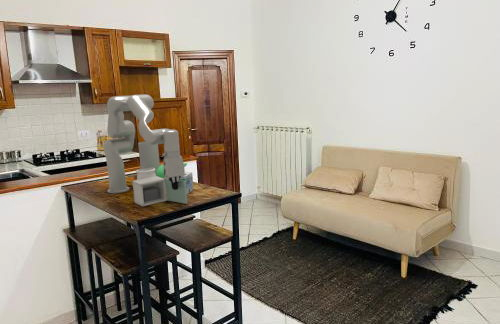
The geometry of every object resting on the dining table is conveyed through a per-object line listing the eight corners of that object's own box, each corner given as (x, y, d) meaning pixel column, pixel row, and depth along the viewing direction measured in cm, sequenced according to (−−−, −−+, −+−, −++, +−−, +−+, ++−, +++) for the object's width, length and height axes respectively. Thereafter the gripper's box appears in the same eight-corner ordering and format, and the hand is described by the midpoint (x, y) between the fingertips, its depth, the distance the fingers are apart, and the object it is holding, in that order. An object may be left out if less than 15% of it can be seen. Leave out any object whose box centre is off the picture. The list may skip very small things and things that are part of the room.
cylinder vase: (164, 177, 258) (161, 141, 254) (152, 181, 247) (149, 144, 242) (149, 176, 264) (146, 140, 259) (137, 180, 252) (134, 143, 248)
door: (186, 203, 195) (184, 181, 192) (167, 200, 203) (165, 178, 200) (188, 202, 196) (186, 180, 194) (169, 199, 204) (167, 177, 202)
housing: (134, 202, 202) (132, 180, 200) (158, 196, 211) (156, 176, 208) (142, 206, 194) (140, 183, 192) (166, 200, 203) (165, 179, 201)
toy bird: (166, 179, 251) (164, 158, 248) (189, 180, 246) (187, 158, 243) (152, 186, 234) (150, 163, 231) (177, 187, 229) (175, 164, 226)
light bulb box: (187, 194, 213) (186, 176, 211) (176, 194, 215) (174, 176, 213) (193, 189, 224) (192, 171, 222) (183, 189, 225) (181, 171, 223)
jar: (147, 198, 209) (145, 171, 206) (134, 196, 215) (132, 170, 212) (161, 193, 218) (159, 168, 215) (148, 191, 223) (146, 166, 221)
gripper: (162, 157, 182) (165, 193, 186) (189, 152, 192) (191, 187, 196) (155, 155, 188) (158, 191, 192) (181, 151, 198) (183, 185, 201)
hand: (175, 189), depth 194 cm, fingers closed
